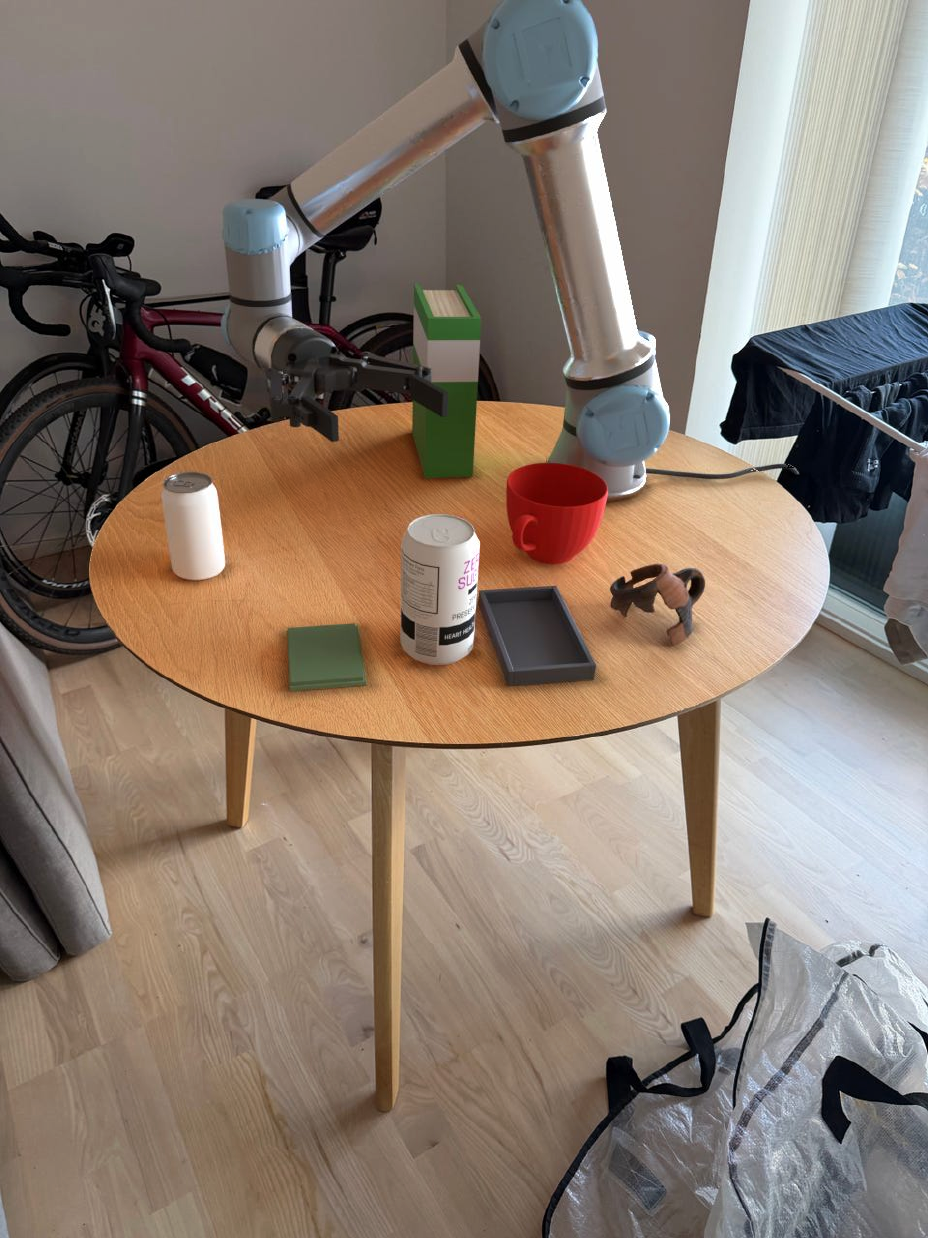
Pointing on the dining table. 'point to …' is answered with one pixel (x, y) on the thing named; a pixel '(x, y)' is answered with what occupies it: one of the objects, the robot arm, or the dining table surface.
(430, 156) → the robot arm
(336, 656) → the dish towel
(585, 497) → the ceramic cup
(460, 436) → the hardback book
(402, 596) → the supplement can
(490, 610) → the pan
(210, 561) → the can
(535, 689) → the dining table surface
